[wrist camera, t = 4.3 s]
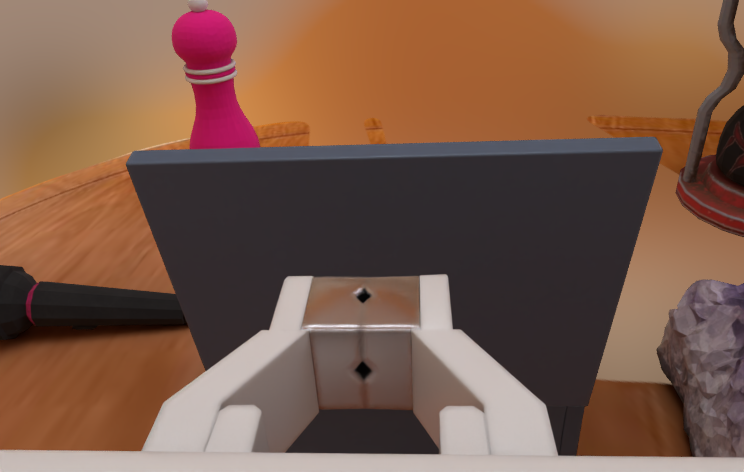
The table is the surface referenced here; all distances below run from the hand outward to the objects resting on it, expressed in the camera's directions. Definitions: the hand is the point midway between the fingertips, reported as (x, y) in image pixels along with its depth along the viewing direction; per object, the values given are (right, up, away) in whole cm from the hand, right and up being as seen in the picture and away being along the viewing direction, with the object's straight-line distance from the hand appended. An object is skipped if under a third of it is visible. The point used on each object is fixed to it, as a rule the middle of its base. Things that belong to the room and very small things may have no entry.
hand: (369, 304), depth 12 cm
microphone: (-20, -6, +36) cm, 42 cm away
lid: (+1, -1, +12) cm, 12 cm away
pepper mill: (-15, +6, +56) cm, 58 cm away
